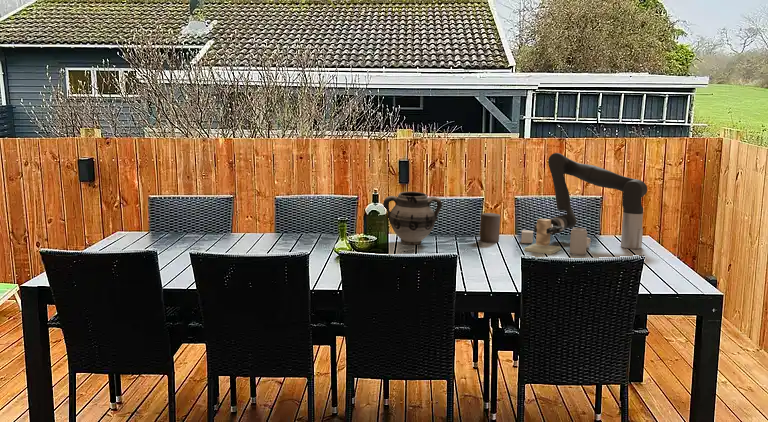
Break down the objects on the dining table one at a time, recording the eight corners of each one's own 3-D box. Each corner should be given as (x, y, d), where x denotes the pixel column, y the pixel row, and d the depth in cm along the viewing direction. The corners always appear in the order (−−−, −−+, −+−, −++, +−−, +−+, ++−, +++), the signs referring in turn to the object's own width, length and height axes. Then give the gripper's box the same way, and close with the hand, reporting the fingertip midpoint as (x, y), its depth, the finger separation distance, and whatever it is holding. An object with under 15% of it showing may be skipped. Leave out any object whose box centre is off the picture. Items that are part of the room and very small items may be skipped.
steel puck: (583, 246, 338) (584, 236, 338) (591, 249, 333) (593, 239, 332) (574, 246, 336) (575, 236, 335) (582, 249, 330) (583, 239, 330)
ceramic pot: (440, 239, 350) (442, 190, 346) (441, 248, 327) (442, 196, 323) (384, 237, 351) (385, 189, 348) (380, 246, 329) (381, 195, 325)
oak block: (549, 244, 328) (551, 219, 327) (546, 245, 324) (547, 220, 322) (539, 242, 331) (541, 218, 329) (535, 244, 327) (537, 219, 325)
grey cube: (532, 241, 350) (533, 230, 349) (532, 243, 345) (532, 232, 344) (521, 240, 351) (522, 230, 351) (521, 242, 346) (521, 231, 345)
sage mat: (560, 249, 330) (560, 246, 330) (550, 254, 319) (551, 251, 319) (534, 246, 337) (534, 243, 337) (524, 250, 326) (524, 247, 326)
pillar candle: (478, 241, 345) (479, 212, 343) (481, 238, 355) (482, 209, 352) (497, 243, 343) (499, 214, 340) (500, 240, 352) (501, 211, 350)
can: (584, 252, 325) (585, 227, 323) (587, 255, 318) (589, 230, 316) (568, 251, 326) (569, 226, 324) (570, 255, 318) (572, 229, 317)
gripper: (540, 216, 342) (527, 221, 328) (568, 219, 334) (556, 224, 320) (540, 231, 343) (526, 236, 329) (568, 235, 335) (555, 240, 321)
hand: (541, 230), depth 324 cm, fingers closed on oak block, 5 cm apart
